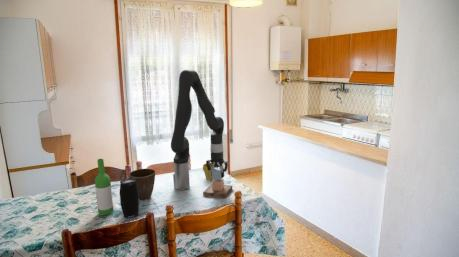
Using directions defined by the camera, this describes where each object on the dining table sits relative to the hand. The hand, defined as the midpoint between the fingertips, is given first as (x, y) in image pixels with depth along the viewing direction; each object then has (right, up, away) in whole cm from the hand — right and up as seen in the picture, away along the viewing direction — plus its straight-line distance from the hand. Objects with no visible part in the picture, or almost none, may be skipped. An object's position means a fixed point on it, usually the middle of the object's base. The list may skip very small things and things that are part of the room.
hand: (217, 177), depth 195 cm
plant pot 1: (-44, -12, -4) cm, 45 cm away
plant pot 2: (-6, -5, +26) cm, 28 cm away
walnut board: (0, -10, +2) cm, 10 cm away
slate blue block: (0, -1, 0) cm, 1 cm away
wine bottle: (-60, -16, -22) cm, 65 cm away
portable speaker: (-45, -17, -25) cm, 54 cm away
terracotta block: (0, -7, +1) cm, 7 cm away
